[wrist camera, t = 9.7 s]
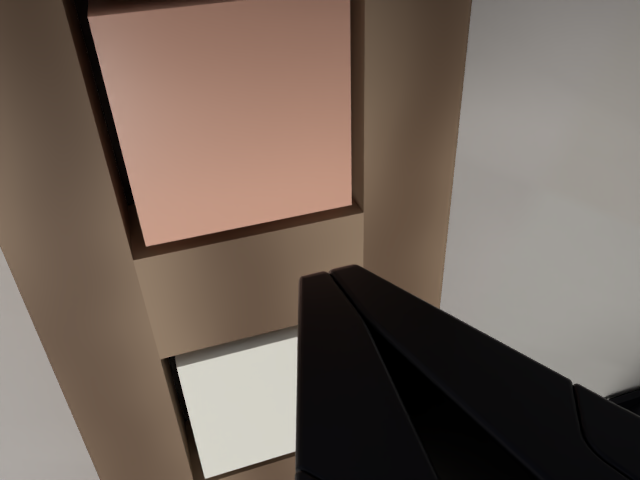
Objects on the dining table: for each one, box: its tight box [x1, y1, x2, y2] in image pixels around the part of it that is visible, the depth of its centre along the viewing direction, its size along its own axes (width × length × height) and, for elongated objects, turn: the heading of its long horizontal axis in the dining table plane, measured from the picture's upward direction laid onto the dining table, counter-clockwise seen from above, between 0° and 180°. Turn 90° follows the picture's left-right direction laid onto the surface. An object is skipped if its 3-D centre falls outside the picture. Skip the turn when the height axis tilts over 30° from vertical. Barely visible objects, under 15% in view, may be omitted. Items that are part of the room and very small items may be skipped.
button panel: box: [0, 0, 472, 480], centre depth 21 cm, size 12×32×3 cm, turn 2°
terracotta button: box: [88, 0, 352, 247], centre depth 15 cm, size 6×6×3 cm
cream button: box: [175, 325, 298, 479], centre depth 21 cm, size 6×6×3 cm
